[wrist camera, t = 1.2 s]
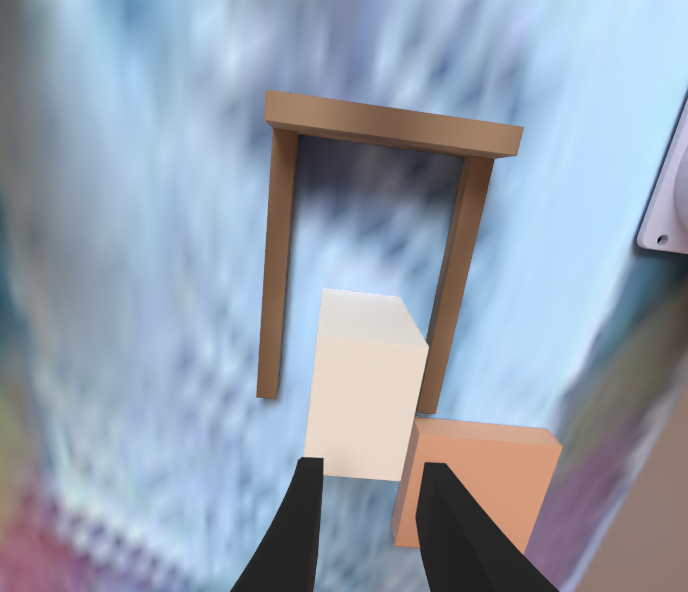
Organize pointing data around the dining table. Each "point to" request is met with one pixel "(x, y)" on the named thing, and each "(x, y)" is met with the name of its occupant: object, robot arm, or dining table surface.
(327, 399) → the block
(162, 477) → the dining table surface
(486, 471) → the tile
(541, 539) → the dining table surface
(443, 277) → the frame
